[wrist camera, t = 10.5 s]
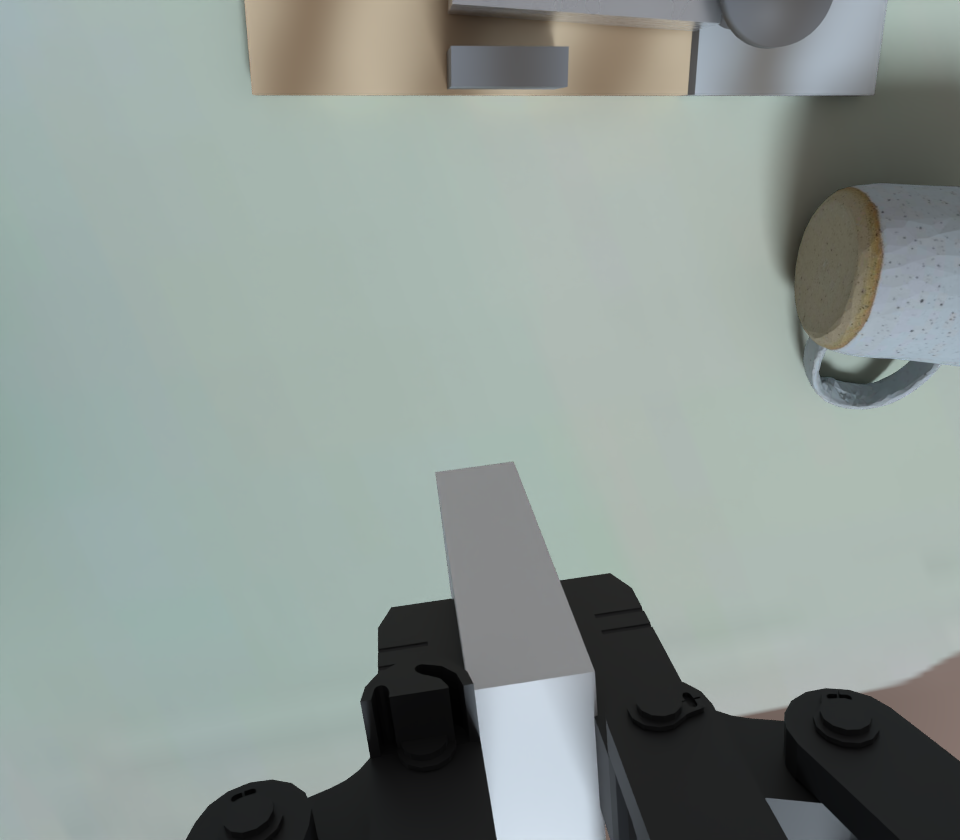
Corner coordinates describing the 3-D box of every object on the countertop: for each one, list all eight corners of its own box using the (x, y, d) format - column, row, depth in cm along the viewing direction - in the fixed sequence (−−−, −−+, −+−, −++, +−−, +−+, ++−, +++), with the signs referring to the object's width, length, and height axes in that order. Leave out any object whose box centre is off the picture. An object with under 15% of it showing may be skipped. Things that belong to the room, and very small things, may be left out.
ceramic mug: (799, 173, 38) (891, 190, 31) (970, 181, 39) (1097, 199, 32) (761, 397, 42) (835, 457, 35) (918, 400, 43) (1022, 459, 36)
